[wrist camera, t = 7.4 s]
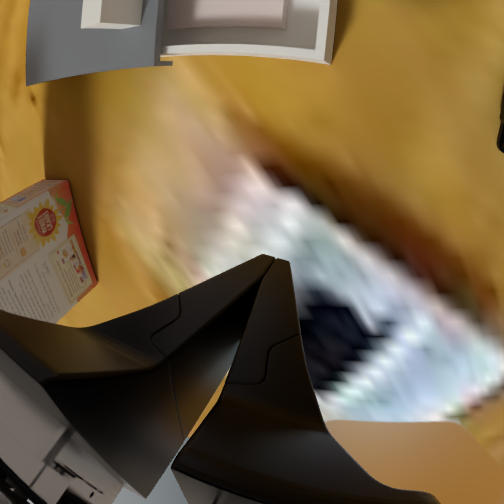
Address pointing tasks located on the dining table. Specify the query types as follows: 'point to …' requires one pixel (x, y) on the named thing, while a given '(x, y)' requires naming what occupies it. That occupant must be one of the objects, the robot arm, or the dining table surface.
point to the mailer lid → (91, 37)
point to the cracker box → (42, 253)
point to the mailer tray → (250, 28)
